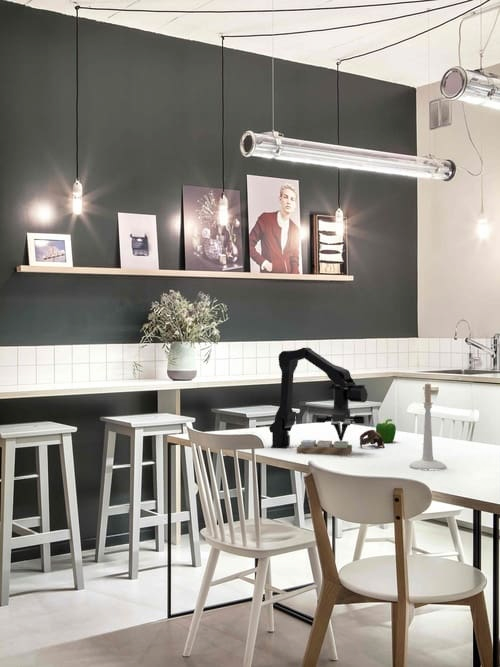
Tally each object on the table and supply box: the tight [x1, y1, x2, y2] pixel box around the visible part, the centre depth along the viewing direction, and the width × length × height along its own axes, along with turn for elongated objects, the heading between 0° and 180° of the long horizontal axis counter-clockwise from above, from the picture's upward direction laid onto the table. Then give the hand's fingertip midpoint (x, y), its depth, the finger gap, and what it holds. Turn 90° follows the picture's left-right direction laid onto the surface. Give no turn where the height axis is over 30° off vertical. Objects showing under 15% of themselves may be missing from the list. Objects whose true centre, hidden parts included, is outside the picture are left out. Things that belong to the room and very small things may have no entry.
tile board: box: [296, 443, 353, 456], centre depth 340 cm, size 20×12×2 cm, turn 76°
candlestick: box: [408, 383, 447, 471], centre depth 305 cm, size 13×13×30 cm
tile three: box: [333, 440, 349, 448], centre depth 338 cm, size 5×5×2 cm
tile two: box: [316, 440, 333, 447], centre depth 340 cm, size 5×5×2 cm
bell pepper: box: [375, 418, 397, 444], centre depth 367 cm, size 8×8×10 cm
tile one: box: [300, 439, 317, 447], centre depth 342 cm, size 5×5×2 cm
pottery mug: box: [359, 429, 385, 449], centre depth 353 cm, size 12×10×8 cm
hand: (341, 440), depth 338 cm, fingers closed
